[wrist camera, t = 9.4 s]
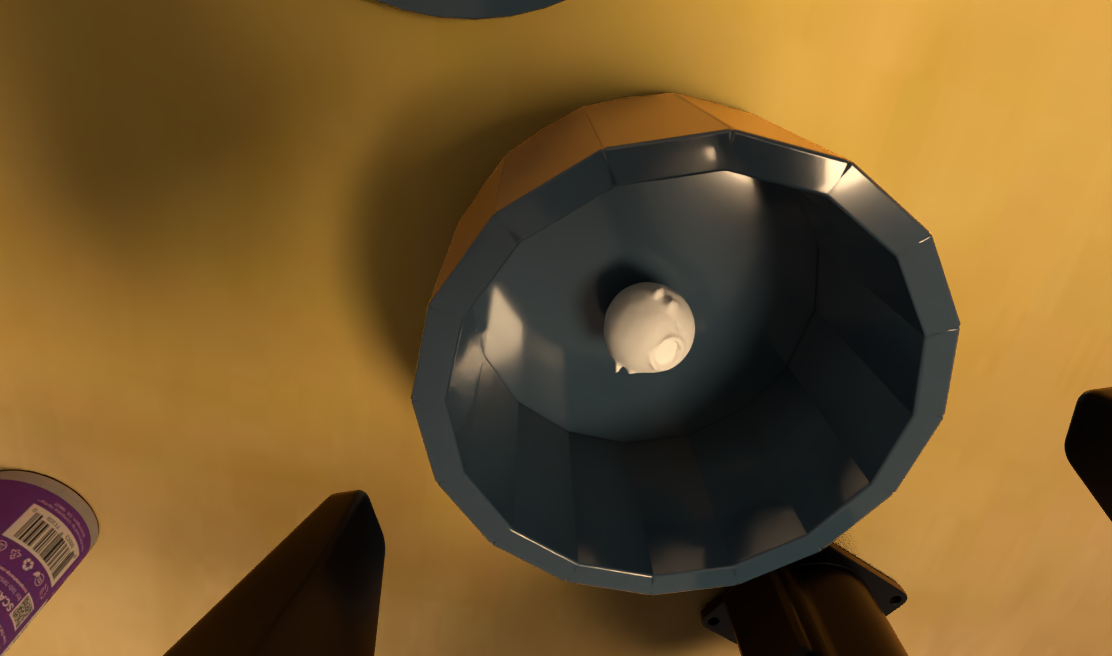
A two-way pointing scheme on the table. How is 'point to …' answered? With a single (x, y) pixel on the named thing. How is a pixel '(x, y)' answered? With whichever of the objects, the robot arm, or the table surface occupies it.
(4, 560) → the container
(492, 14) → the lid
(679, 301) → the white piggy bank
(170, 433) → the table surface
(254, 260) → the table surface
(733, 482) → the canister
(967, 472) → the table surface
